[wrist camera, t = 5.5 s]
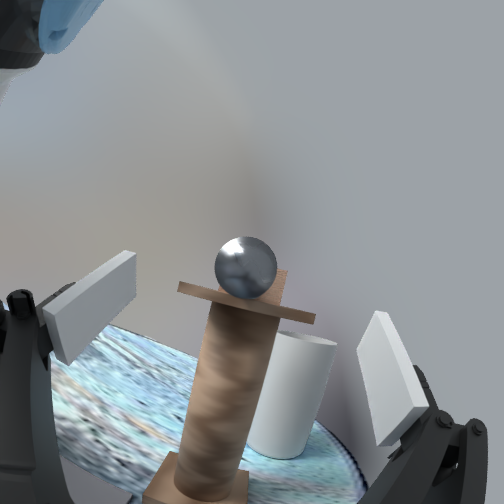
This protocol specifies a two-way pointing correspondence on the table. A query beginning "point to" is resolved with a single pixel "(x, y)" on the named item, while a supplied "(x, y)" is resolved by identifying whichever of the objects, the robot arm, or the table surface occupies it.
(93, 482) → the rubber mat
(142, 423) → the table surface
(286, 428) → the cylinder vase
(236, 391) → the bobbin stand
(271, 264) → the wooden mallet
